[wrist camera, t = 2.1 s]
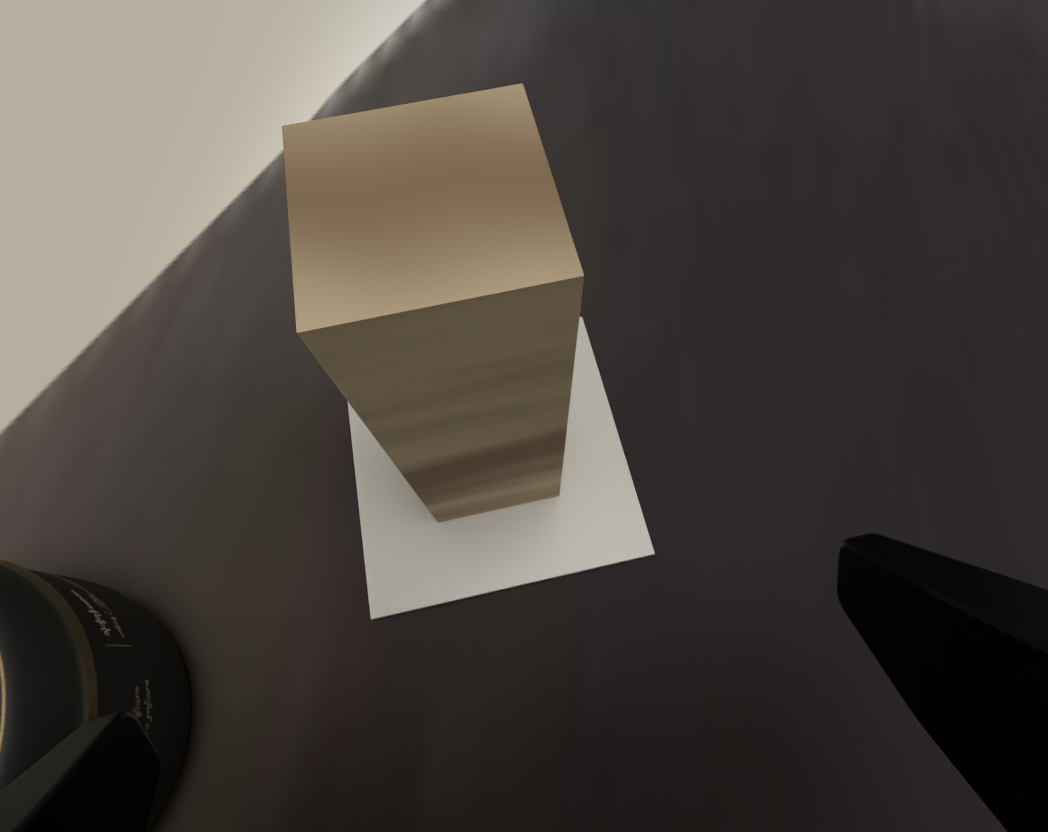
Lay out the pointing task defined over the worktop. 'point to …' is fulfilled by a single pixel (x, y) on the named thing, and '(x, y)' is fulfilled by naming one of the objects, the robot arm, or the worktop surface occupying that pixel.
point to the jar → (83, 670)
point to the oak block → (441, 290)
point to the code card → (501, 516)
